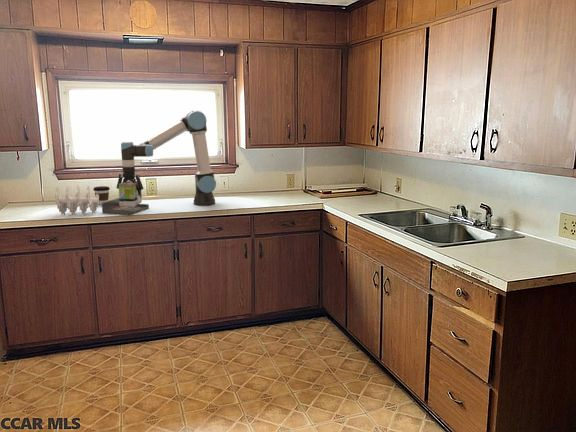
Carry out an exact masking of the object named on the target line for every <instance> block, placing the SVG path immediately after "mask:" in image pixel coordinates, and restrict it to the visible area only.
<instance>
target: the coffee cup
mask: <svg viewBox="0 0 576 432" xmlns="http://www.w3.org/2000/svg"><path fill="white" fill-rule="evenodd" d="M92 191H94V195H95V196H94V197H96V194H98V195H99V204H98V206H102V202H106V201H109V195H110V186H106V185H101V186H94V187H93V190H92Z"/></svg>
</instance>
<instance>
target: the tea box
mask: <svg viewBox="0 0 576 432" xmlns="http://www.w3.org/2000/svg"><path fill="white" fill-rule="evenodd" d="M122 182H123V181H122ZM136 182H137V180H136ZM136 184H137V183H133V182H131V181H127V182H123V183H120V184H119V189H118V198H119V204H120V206H124V207H134V206H136V205H137V204H142V202H143V200H142V199H143V197H142V194H141V195H140V200H139V201H137V193H136V191H137V189H136Z"/></svg>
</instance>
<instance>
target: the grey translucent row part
mask: <svg viewBox="0 0 576 432" xmlns="http://www.w3.org/2000/svg"><path fill="white" fill-rule="evenodd" d="M80 194H81V193H80V187H79V185H77V187H76V194H75V197H74V196H73V197H72V196H70V188H69V186H66V189H65V196H60V189H59V186H56V188H55V194H54V195H55V204H56V205H57V207H56V209H58V212H59V213H60V214H61V215H65V214H66V213H67V211H68V210H69V213H71V215H72V216H73V215H74V214H76V212H77V210H78V208H79V211H81V214H85V213H86V212H87V211H88V208H89V210H90V211H91V214H95V213H96V211H97V210H98V207H99V205H98V204H99V195H98V194H96V196H94V197H90V186H89V185H87V187H86V194H85V197H82V196H80Z"/></svg>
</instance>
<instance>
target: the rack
mask: <svg viewBox="0 0 576 432" xmlns="http://www.w3.org/2000/svg"><path fill="white" fill-rule="evenodd" d="M149 206H150V205H149V203H139V204H137V205H136V206H134V207H124V206H120V204H119V197H117V198H114V199H110V200H109V199H108V201H106V202H102V205H101V211H102V214H104V215H105V214H106V215H117V214H119V215H120V216H132V215H135V214H138V213H140V212H143V211H146V210H149V209H150V207H149Z"/></svg>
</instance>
